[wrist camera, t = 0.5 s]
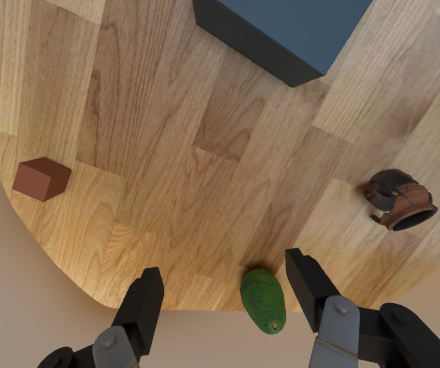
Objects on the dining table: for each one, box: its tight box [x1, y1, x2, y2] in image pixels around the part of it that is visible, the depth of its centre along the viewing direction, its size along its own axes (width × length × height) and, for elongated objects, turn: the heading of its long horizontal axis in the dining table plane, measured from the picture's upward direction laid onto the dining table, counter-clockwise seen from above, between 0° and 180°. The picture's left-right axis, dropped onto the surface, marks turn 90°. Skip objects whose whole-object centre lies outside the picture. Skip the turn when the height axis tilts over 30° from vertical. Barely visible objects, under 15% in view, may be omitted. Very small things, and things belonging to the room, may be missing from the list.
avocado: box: [240, 269, 286, 335], centre depth 37 cm, size 8×8×12 cm
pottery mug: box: [364, 169, 438, 231], centre depth 36 cm, size 12×10×8 cm
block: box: [12, 157, 71, 202], centre depth 33 cm, size 5×5×5 cm
